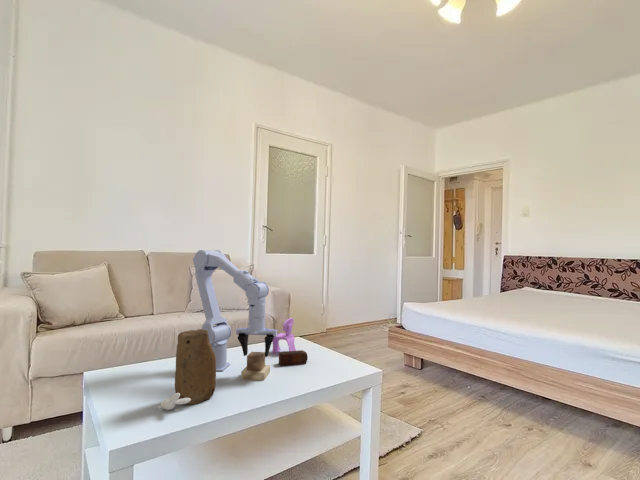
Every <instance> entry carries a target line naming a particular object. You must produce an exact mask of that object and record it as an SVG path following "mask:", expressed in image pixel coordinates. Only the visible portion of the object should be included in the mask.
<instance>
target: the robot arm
mask: <svg viewBox="0 0 640 480" xmlns="http://www.w3.org/2000/svg"><path fill="white" fill-rule="evenodd" d="M192 261H193V267H194V270H195V271H194V275H195V279H196V283H197V284H196V285H197V288H198V291H199V296H200V301H201V304H202V307H203V308H202V309H203V312H204V316H205V320H204V323H203V324H202V326H201V329H203V330H207V331H208V334H209V337H208V338H209V343H210V344H211V346H212V349H213V352H214V353H215V356H216V372H224V370H226V369H227V368H228V367H229V366H230V365H231V362H228V361H227V360H228V352H227V351H228V342H229V339H230V338H231V336H232V328H231V326H230V325H229V322H228V321H227V318H225V317H224V316H222V315H221V310H220V307H219V302H218V299H217V296H216V295H217V294H216V290H215V287H214V284H213V279H212V275H213V273H215V272H216V270H217V269H218V268H220V269H221V270H222V271H224V272H225V273H226V274H228V275H229V276H231V278H233V283H234V284H236V285H237V287H239V288H241V289H242V291H244V292H245V296H246V297H247V303H248V325H247V327H237V328H236V329H235V336H237V335H238V336H237V340H238V342H239V344H240V346H241V349H242V354H243V356H244V357H247V355H248V352H249V351H248V346H249V345H248V342H249V335H250V336H265V337H264V347H265V348H264V352H265V358H268V357H269V354H270V349H271V346H272V344H273V342H272V341H273V339H274V337H275V336H277V335H278V329H276V328H268V327H266V297H267V296H268V295H269V291H270V289H269V286H268V284H267V283H266V282H265V281H259V280H258V278H257V277H256V278H255V277H254V276H253V275H252V274H250V271H249V270H247V269H241V270H240V269H239V268H238V267H237V266H236V265H235V264H234V263H233V262H231V260H229V259H228V258H227V257H226V255H225V253H223V252H222V251H221V250H219V249H218V250H217V249H216V250H204V249H203V250H202V249H201V250H200V249H199V250H198V251H196V252H195V254H194V256H193V258H192Z"/></svg>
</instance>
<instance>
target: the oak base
mask: <svg viewBox="0 0 640 480" xmlns="http://www.w3.org/2000/svg"><path fill="white" fill-rule="evenodd" d="M240 373H241V375H240V379H241V380H248V381H251V380H252V381H265V380H266V379H267V377H268V376H269V374H270V373H271V365H269V364H265V367H264V368H263V369H262V370H261V371H247V365H246V366H245V367H244V369H242V370H241V372H240Z"/></svg>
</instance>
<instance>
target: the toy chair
mask: <svg viewBox="0 0 640 480" xmlns="http://www.w3.org/2000/svg"><path fill="white" fill-rule="evenodd" d="M293 325H294V318H293V317H289V318H288V319H286V320H285V321H284V322H283V325H282V326H283V327H282V330H283V331H284V332H285V333H284V332H280V333H277V336H275V337H274V339H273V341H272V354H275V353H277V352H279V351H281V347H280V340H284V341H286V342H287V346H288V351H297V349H296V345H295V336H294V334H293V333H292V331H293V329H292V328H293Z"/></svg>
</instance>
